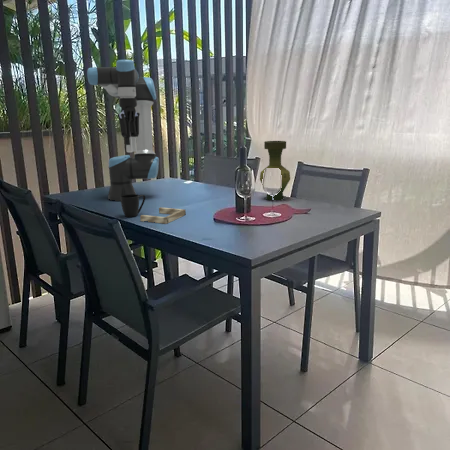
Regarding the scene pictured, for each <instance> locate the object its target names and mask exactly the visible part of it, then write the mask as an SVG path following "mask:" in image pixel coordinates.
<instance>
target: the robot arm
mask: <svg viewBox="0 0 450 450" xmlns="http://www.w3.org/2000/svg"><path fill="white" fill-rule="evenodd" d="M115 65H116V66H111V67H108V66H107V67H106V66H105V67H101V66H100V67H99V66H98V67H97V66H94V67H88V68H87V71H86V75H87V81H88V84H89V85H90V86H100V87H101V88H103V89H104V90H105V91H106V93H108V95H109V96H111V97H114V99H115V98H116V99H118V104H119V107H120V108H121V111H120V113H117V118H118V120H119V121H118V122H119V127H120V135H121V137H122V138H124V141H125V148H126V150H125V151H126V153H133V152H134V153H133V157H131V156H130V154H123V155H119V156H118V155H117V156H113V157H110V158H109V159H108V171H109V174H108V175H109V183H110V185H109V191H108V193H107V195H108V196H107V198H108V200H109V199H110V200H109V201H112V200H115V201H114V202H121V196H122V195H127V194H136V195H137V192H136V191H135V187H134V184H133V180H149V179H156V178H157V177H158V173H159V164H160V163H159V162H160V159H159V157H158V156H157V154H156V153H155V152H154V149H153V146H154V145H153V125H152V123H153V121H152V106H153V105H154V101H156V100H157V93H156V92H157V91H156V88H155V83H154V80H153V79H152V78H151V77H145V76H142V77H139V72H138V71H137V69H136V68H135V62H134V60H131V59H118V60H117V61H116V63H115Z"/></svg>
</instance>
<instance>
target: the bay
mask: <svg viewBox="0 0 450 450" xmlns="http://www.w3.org/2000/svg"><path fill="white" fill-rule="evenodd" d="M158 213H159V214H165V215H167V216H157V215H147V214H141V215H140V219H139V220H140V222H144V221H148V222H147V223H154V222H155V224H166V225H167V224H169V223H172V222H173V221H176V220H178V219H180V218H182V217H184V216H186V213H187V210H186V209H183V208H172V207H171V208H170V207H161V206H160V207H158Z"/></svg>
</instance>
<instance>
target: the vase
mask: <svg viewBox="0 0 450 450" xmlns="http://www.w3.org/2000/svg"><path fill="white" fill-rule="evenodd" d="M263 143H264V145H263V146H264V147H263V148H264V150H267V152H268V160H269V162H268V164H269V165H267V166H266V167H265V168H264V169H262V170H261V171H260V175H259V181H260V183H261V184H262V179H263V173H264V170H265V169H266V168H279V169H280V170H281V175H282V188H281V191H280V192H279V193H278V194H277V195H275V196H274V197H273V198H274V200H279V201H282V200H281V199H283V198H284V191H285V189H286V188H287V186H288V184H289V183H290V181H291V174H290V170H289V169H287V168H286V167H284V166H283V165H282V155H283V154H282V153H283V150H285V149H287V141H286V140H266V141H264V142H263ZM265 199H266V201H271V200H272V196H270V195H268V194H267V193H266V198H265ZM283 200H284V199H283Z"/></svg>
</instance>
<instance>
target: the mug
mask: <svg viewBox="0 0 450 450" xmlns="http://www.w3.org/2000/svg"><path fill="white" fill-rule="evenodd" d="M141 197H142V201H141V204H140V198H141ZM145 201H146V195H145V194H140V195H139V194H137V193H136V194H127V195H122V196H121V201H120V204H121V208H122V211H123V214H124V217H125V216H126V217H125V218H135V217H137V216H138V214H139V213H140V212H141V210H142V209H143V206H144V204H145ZM134 216H135V217H134Z"/></svg>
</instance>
